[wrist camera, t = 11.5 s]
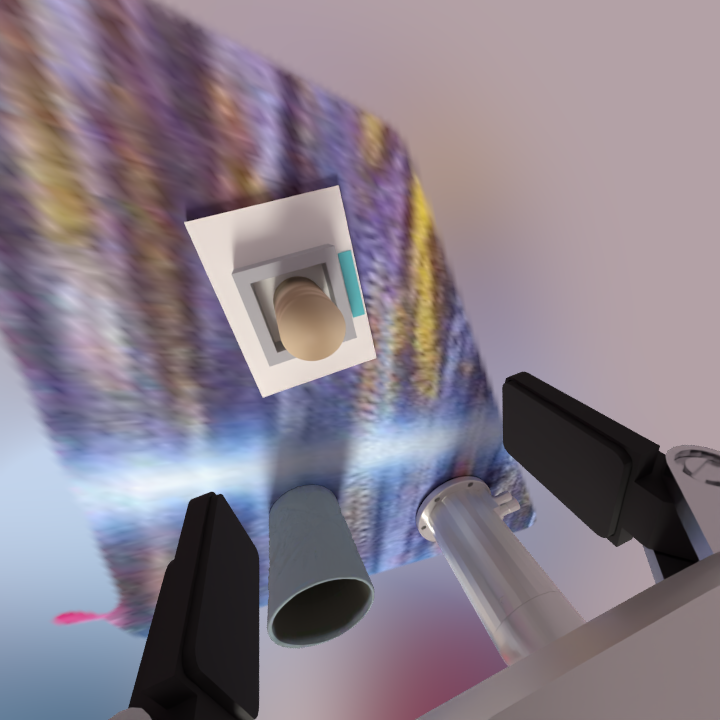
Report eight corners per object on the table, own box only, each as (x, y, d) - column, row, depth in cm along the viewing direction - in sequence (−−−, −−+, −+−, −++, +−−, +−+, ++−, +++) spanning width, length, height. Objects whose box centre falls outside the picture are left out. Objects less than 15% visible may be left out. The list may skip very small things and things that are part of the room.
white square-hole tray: (335, 186, 25) (346, 181, 22) (373, 354, 33) (385, 368, 30) (186, 222, 23) (176, 222, 20) (262, 392, 31) (263, 411, 28)
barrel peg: (315, 269, 27) (336, 289, 20) (329, 316, 29) (352, 348, 22) (265, 284, 26) (269, 310, 19) (283, 331, 28) (292, 369, 21)
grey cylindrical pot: (249, 503, 36) (246, 619, 26) (328, 465, 37) (356, 561, 27) (285, 549, 41) (295, 662, 31) (354, 514, 42) (387, 611, 32)
